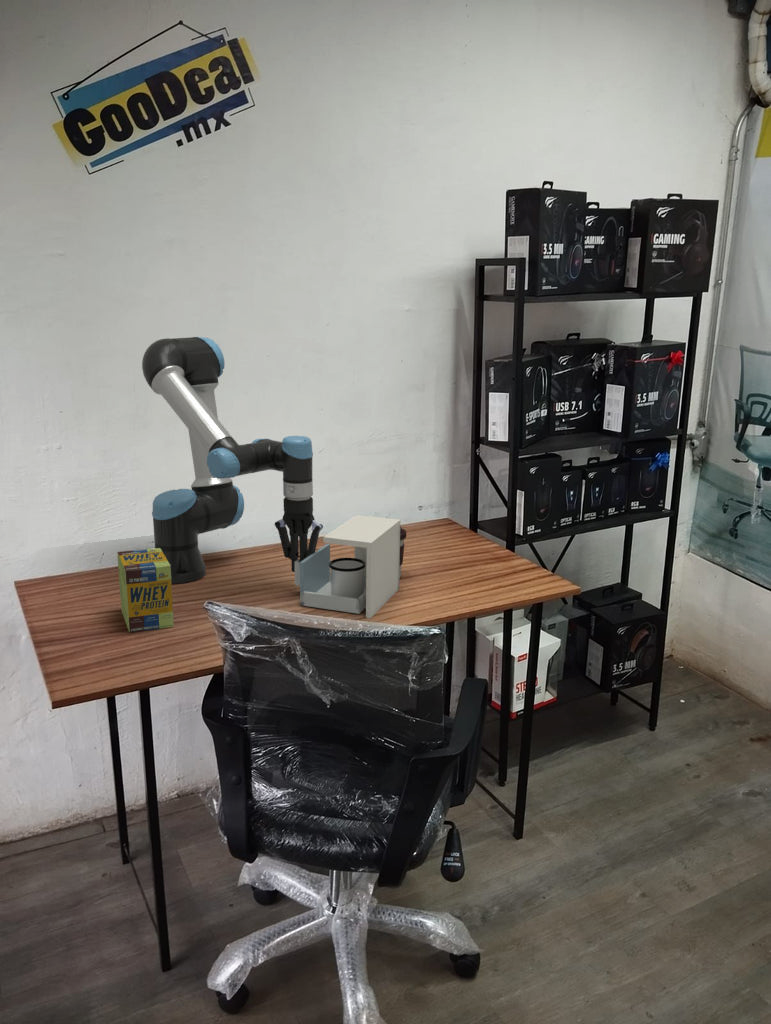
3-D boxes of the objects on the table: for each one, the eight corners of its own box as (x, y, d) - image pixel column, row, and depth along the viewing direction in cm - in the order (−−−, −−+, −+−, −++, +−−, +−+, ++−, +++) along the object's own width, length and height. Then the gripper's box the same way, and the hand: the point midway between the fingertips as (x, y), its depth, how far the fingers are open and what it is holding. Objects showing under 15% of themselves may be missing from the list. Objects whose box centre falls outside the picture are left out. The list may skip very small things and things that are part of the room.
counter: (323, 611, 212) (323, 537, 207) (355, 583, 232) (356, 514, 227) (370, 618, 208) (371, 542, 203) (399, 589, 228) (400, 519, 223)
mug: (370, 601, 215) (370, 567, 213) (334, 604, 212) (334, 570, 210) (356, 585, 226) (357, 553, 224) (322, 588, 223) (322, 556, 221)
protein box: (129, 633, 197) (124, 570, 193) (120, 610, 210) (116, 551, 206) (174, 627, 201) (171, 565, 197) (163, 604, 214) (160, 546, 210)
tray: (300, 605, 215) (299, 562, 212) (326, 583, 230) (326, 543, 227) (359, 613, 210) (359, 570, 207) (382, 591, 225) (382, 550, 222)
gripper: (268, 497, 216) (270, 585, 222) (315, 502, 211) (316, 591, 217) (281, 491, 222) (283, 576, 228) (327, 496, 218) (328, 582, 224)
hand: (299, 583), depth 223 cm, fingers closed
